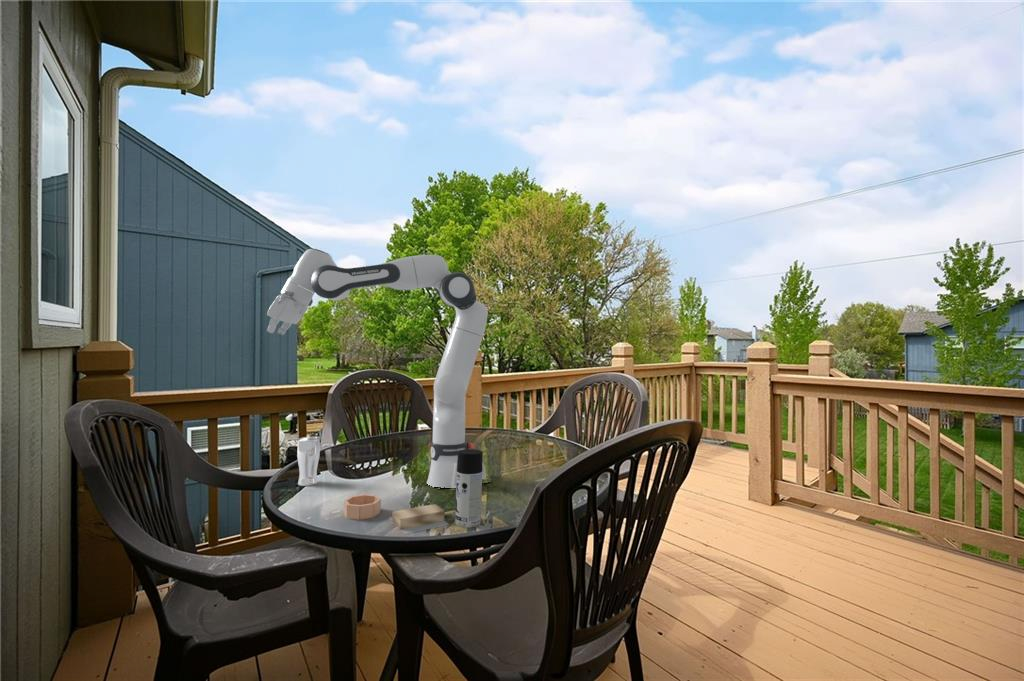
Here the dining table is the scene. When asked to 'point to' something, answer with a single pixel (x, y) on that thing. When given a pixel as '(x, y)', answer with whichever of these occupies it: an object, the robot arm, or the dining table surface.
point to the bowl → (362, 507)
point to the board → (418, 516)
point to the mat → (423, 527)
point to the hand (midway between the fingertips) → (275, 333)
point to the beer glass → (308, 460)
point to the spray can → (469, 488)
